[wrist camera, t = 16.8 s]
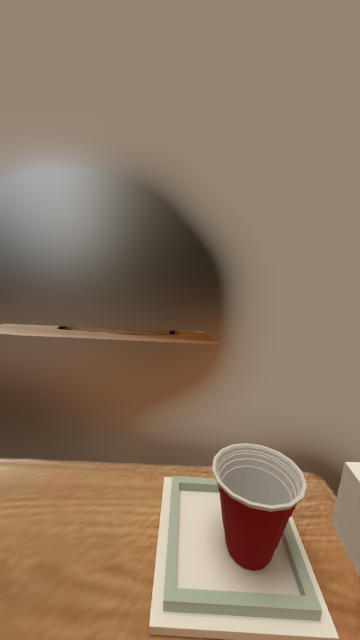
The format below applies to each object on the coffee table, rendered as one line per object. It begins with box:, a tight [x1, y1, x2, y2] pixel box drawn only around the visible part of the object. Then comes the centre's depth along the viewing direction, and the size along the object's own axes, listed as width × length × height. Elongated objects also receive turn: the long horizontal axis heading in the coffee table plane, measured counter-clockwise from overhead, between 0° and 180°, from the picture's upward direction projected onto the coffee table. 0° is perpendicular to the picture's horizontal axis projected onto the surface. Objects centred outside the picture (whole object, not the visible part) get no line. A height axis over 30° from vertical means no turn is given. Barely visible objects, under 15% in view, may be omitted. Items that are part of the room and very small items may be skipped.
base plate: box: [149, 476, 339, 640], centre depth 37 cm, size 19×19×3 cm
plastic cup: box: [212, 443, 307, 571], centre depth 35 cm, size 11×11×12 cm
